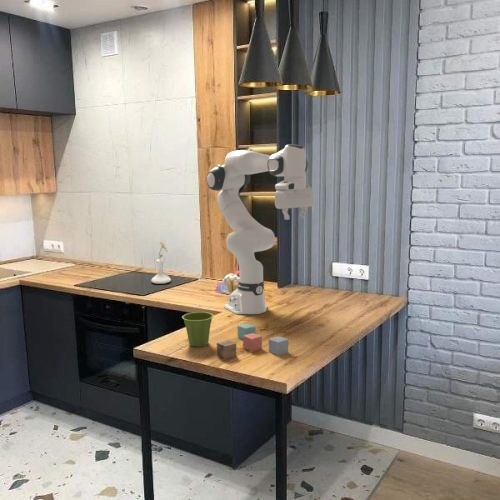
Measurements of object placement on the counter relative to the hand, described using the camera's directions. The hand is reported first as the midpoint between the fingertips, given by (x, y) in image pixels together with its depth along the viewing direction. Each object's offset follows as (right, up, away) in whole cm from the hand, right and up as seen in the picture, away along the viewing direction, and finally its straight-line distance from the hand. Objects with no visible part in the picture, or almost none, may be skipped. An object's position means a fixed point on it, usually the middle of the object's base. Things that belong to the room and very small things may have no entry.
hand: (294, 218), depth 209 cm
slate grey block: (-8, -50, -22) cm, 55 cm away
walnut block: (-27, -51, -25) cm, 63 cm away
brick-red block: (-17, -50, -18) cm, 56 cm away
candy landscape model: (-27, -35, +76) cm, 88 cm away
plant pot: (-38, -49, -13) cm, 64 cm away
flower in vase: (-71, -32, +93) cm, 122 cm away
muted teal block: (-20, -48, -6) cm, 52 cm away
